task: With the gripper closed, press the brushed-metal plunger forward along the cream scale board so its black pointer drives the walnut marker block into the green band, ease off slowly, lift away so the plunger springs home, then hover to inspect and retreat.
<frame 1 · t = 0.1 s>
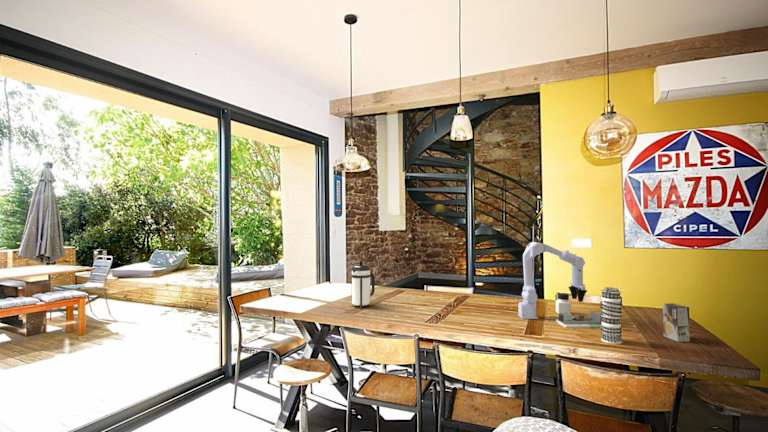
hand: (577, 300, 225), 10 cm above the table, fingers open, 7 cm apart
scale board: (579, 324, 210), on the table
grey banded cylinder: (611, 341, 182), on the table
plunger: (567, 317, 210), point 4 cm above the table, slide at 0.0 cm
coffee box: (676, 339, 185), on the table
medicine bottle: (563, 313, 235), on the table
plant pot: (608, 324, 211), on the table
coffee press: (362, 305, 256), on the table
marker: (579, 318, 210), point 4 cm above the table, slide at 0.0 cm
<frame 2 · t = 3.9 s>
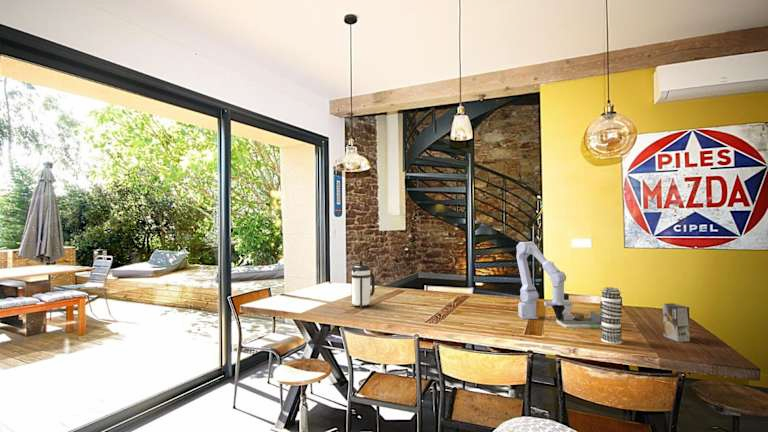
hand: (558, 319, 210), 3 cm above the table, fingers closed
plunger: (568, 317, 210), point 4 cm above the table, slide at 0.3 cm, touching gripper
everything else where it was.
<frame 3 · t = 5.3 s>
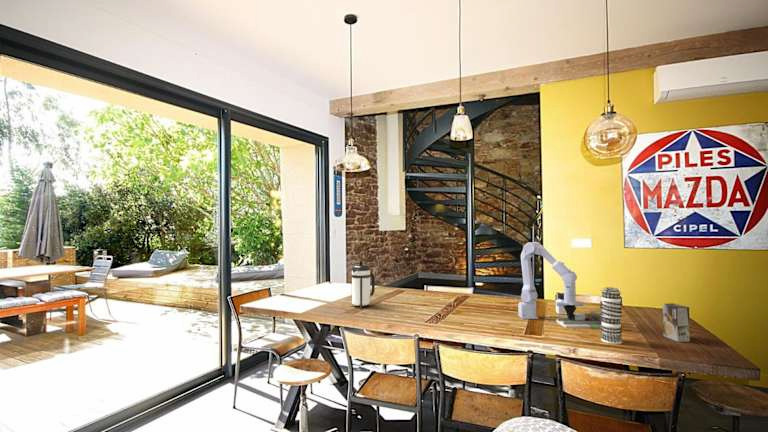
hand: (569, 319, 210), 3 cm above the table, fingers closed
plunger: (579, 317, 210), point 4 cm above the table, slide at 6.3 cm, touching gripper, marker
marker: (589, 318, 210), point 4 cm above the table, slide at 5.8 cm, touching plunger
everything else where it was.
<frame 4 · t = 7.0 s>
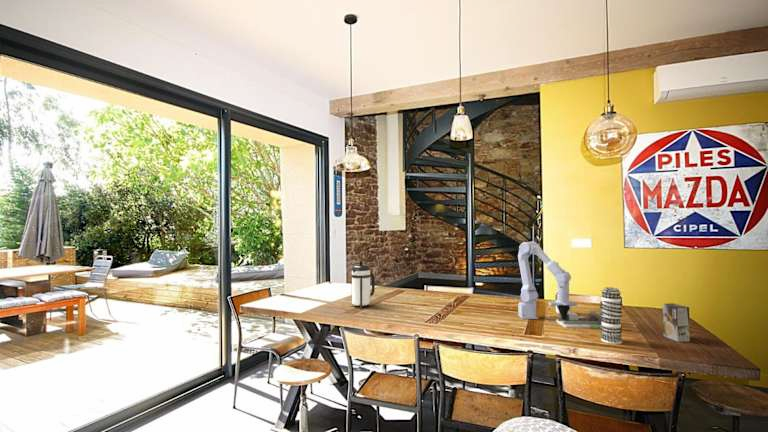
hand: (563, 319, 210), 3 cm above the table, fingers closed
plunger: (573, 317, 210), point 4 cm above the table, slide at 3.0 cm, touching gripper
marker: (589, 318, 210), point 4 cm above the table, slide at 5.8 cm
everything else where it was.
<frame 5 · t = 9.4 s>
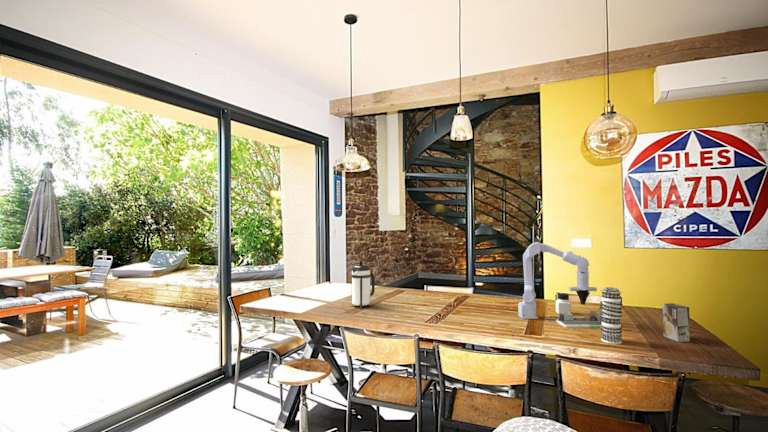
hand: (582, 304, 213), 10 cm above the table, fingers closed
plunger: (568, 317, 210), point 4 cm above the table, slide at 0.4 cm
everything else where it was.
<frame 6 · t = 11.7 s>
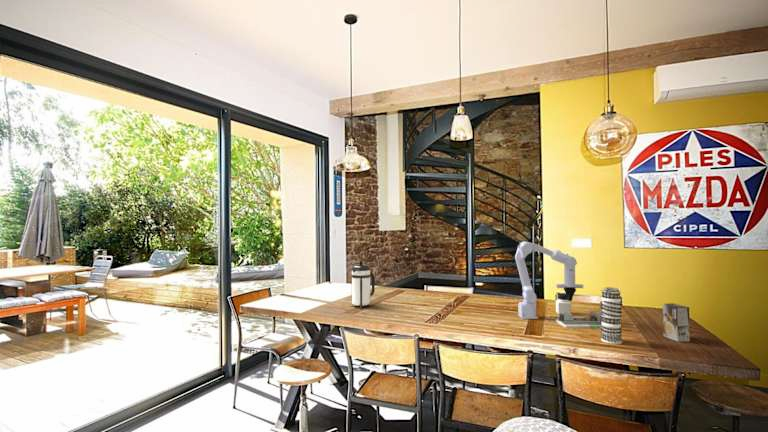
hand: (569, 300, 222), 10 cm above the table, fingers closed
nothing on the table moved.
at the end: marker slide at 5.8 cm; plunger slide at 0.4 cm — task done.
